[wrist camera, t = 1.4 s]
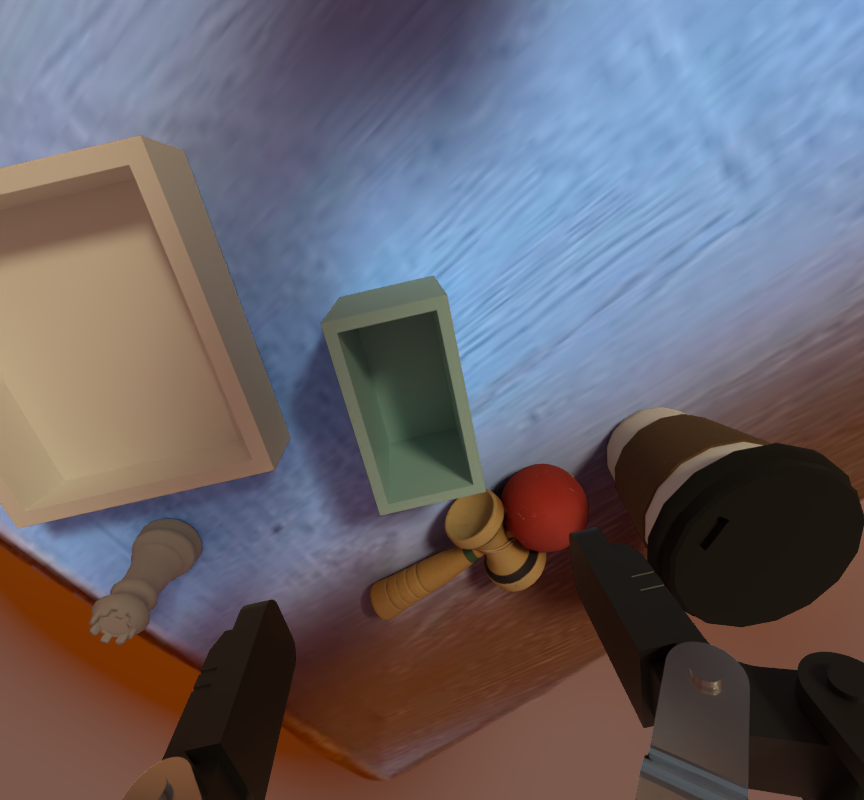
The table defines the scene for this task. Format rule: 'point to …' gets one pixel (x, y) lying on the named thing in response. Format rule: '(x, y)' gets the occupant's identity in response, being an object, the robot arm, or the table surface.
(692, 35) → the table surface
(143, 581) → the rook chess piece
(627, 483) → the coffee cup
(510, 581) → the kendama
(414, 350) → the teal tote
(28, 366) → the beige tray
